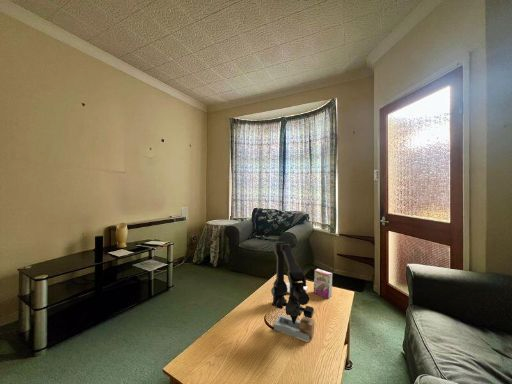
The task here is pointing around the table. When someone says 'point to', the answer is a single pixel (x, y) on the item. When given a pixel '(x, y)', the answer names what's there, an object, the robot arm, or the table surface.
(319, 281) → the candy bar box
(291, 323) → the chute
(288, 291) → the figurine
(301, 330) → the walnut block
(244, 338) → the table surface
